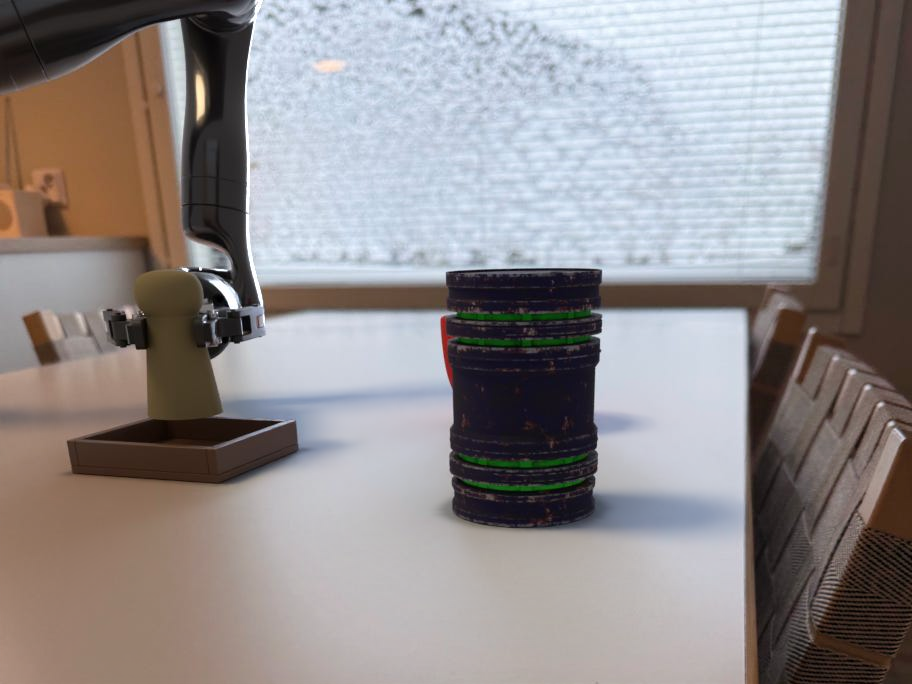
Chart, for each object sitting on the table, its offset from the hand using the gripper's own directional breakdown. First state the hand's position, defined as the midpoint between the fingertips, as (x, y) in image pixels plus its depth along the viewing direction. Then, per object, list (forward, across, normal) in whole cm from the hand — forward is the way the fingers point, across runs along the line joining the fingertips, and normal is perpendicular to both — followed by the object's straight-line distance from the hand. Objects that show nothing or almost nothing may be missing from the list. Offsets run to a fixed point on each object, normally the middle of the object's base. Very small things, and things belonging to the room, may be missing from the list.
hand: (169, 334), depth 73 cm
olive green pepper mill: (-3, 0, +7) cm, 7 cm away
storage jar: (+18, +24, +10) cm, 32 cm away
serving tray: (-3, 0, +10) cm, 11 cm away
